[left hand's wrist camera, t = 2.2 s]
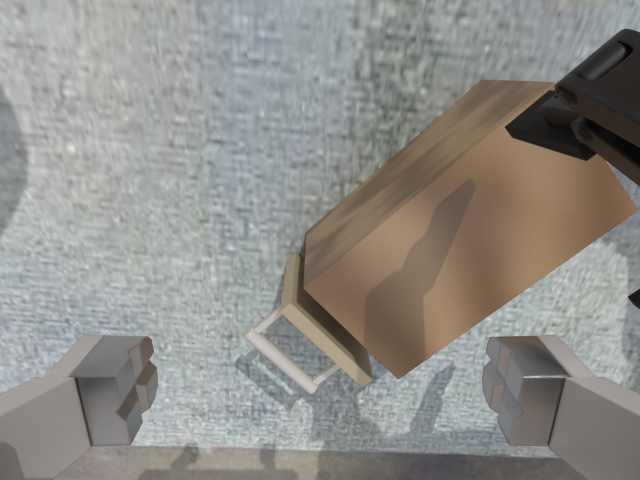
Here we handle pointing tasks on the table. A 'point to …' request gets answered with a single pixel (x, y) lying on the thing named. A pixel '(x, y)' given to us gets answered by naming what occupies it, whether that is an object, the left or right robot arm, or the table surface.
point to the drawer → (311, 334)
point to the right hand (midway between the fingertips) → (594, 207)
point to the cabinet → (456, 228)
